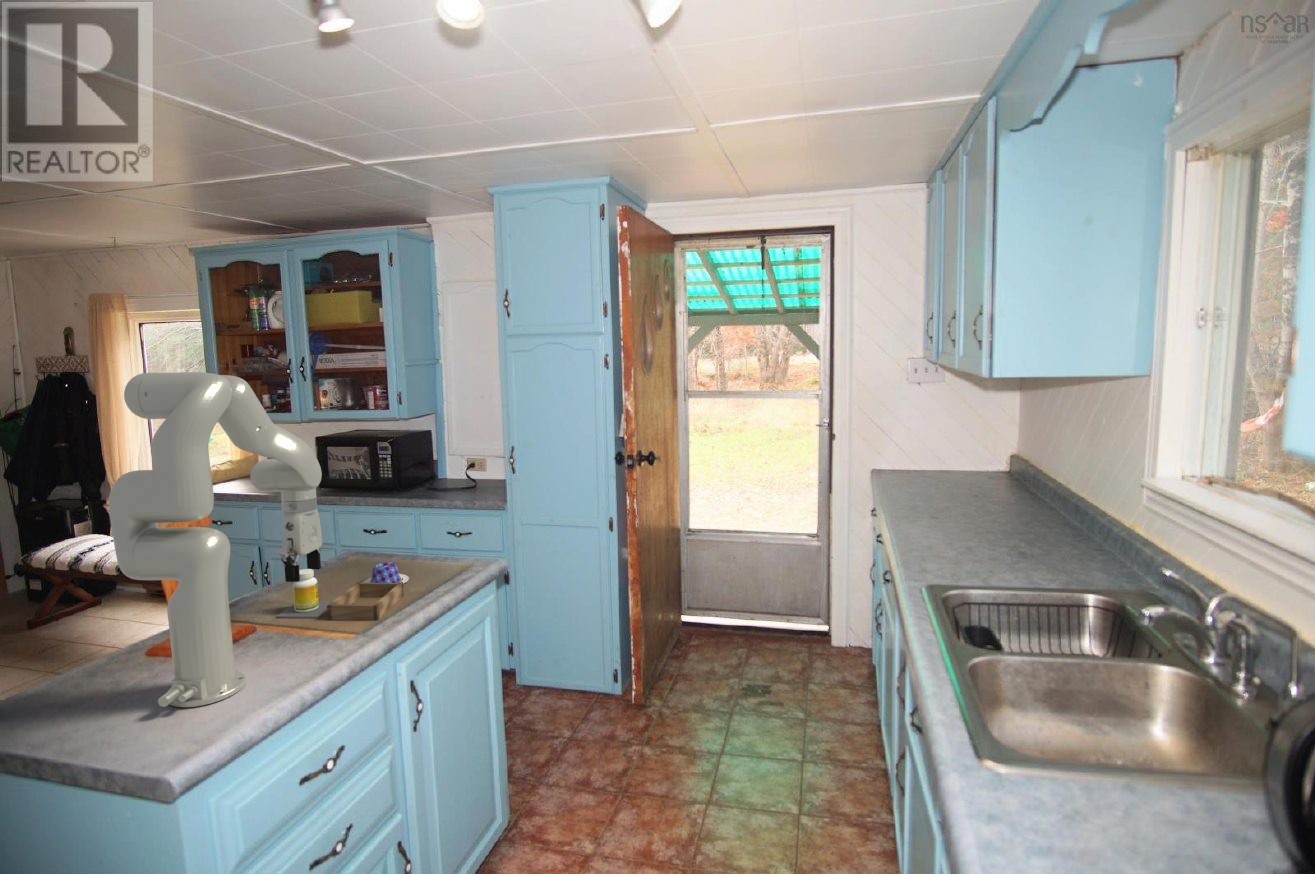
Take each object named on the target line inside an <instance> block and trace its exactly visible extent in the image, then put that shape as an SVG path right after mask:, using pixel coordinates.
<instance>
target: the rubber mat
mask: <svg viewBox="0 0 1315 874" xmlns="http://www.w3.org/2000/svg"><path fill="white" fill-rule="evenodd" d="M333 601H334V600H319V607H318V608H317V609H316V610H314V611H310V612H305V613H301V612H296V611H295V608H294V603H293V604H292V605H291V606H289V607H288V608H286V609H285V610H283V611H282V612H280V613H279V614H277V615H276V616H275V618H276V619H318V618H320V617H321V616H323V614H325V613H327V605H329V604H330V603H331V602H333Z"/></svg>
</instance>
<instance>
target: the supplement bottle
mask: <svg viewBox="0 0 1315 874" xmlns="http://www.w3.org/2000/svg"><path fill="white" fill-rule="evenodd" d="M299 572H300V581H298V582H292V591H293V592H292V593H293V604H294V608H295V611H296V612H301V613H305V612H310V611H314V610H316V609H317V608H318V607H319V601H320V600H319V587H318V580H317V578H316V577H314V575H315V572H314V569H307V568H303V569H299Z"/></svg>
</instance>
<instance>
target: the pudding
mask: <svg viewBox="0 0 1315 874" xmlns="http://www.w3.org/2000/svg"><path fill="white" fill-rule="evenodd" d="M402 578H403V580H402ZM409 580H410V577H409V575H406V574H403V573H400V571H399V568H398V566H397V564H396V563H395V562H390V561H389V562H380V563H379V564H375V565H374V567H373V568H372V573H371V577H368V578H367V579H364V580H363V581H362V583H399V582H400V583H401V582H403V584H405V583H407V582H408V581H409Z"/></svg>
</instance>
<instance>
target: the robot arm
mask: <svg viewBox="0 0 1315 874" xmlns="http://www.w3.org/2000/svg"><path fill="white" fill-rule="evenodd" d="M123 399H124V402H125V405H126V406H127V408H128V409H129V411H130V412H131V413H132V414H133V415H135V416H137V417H138V418H142V419H145V420H161V419H163V422H162V423H161V425H160V426H158V428H157V430H156V431H155V433H154V435H153V437H152V439H151V443H150V444H151V445H150V455H151V465H152V467H151V468H152V469H143V470H142V469H140V470H139V469H138V470H131V471H129V472H128V471H127V472H126V473H124V474H121V475H120V476H119V477H118V478H117V479H116V480H115V481H114V483H113V485H112V487H111V488H110V493H109V496H108V497H109V498H108V512H109V519H110V525H111V531H112V538H113V545H114V549H115V557H116V561H117V564H118V567H119V569H120V571H121V573H122V574H123V575H124V576H126V577H127V578H129V579H132V580H136V581H175V582H176V581H177V583H178V584H177V587H175V590H174V591H173V593H172V594H171V596H170V598H169V599H168V602H167V608H166V609H167V620H168V628H169V637H170V638H169V640H170V649H171V656H172V657H171V658H172V659H171V660H172V669H173V678H174V679H172V680H171V687H170V688H169V689H168V690H167V691H166V693H165V694H163V695H161V696H160V697H159V698H158V699H157V703H158V705H159V707H162V708H166V707H168V706H169V705H170V706H173V707H176V708H194V707H195V708H196V707H200V706H206V705H209V704H214V703H217V702H219V701H222V700H225V699H228V698H230V697H231V696H234V695H235V694H236V693H238V692H239V691H240V690H242V689H243V688H244V686H245V684H246V676H245V674H244V673H243V672H241V671H239V670H236V668H235V656H234V655H235V654H234V646H233V645H234V643H233V634H232V632H233V631H232V623H231V611H230V601H229V599H230V598H229V585H228V584H229V583H228V580H229V578H228V577H229V566H230V559H231V543H230V540H229V538H228V536H227V535H226V534H225V533H224V532H222V531H220V530H218V529H216V528H212V527H205V526H179V527H177V526H176V527H159V524H160V523H162V524H163V523H189V522H190V523H191V522H197V521H201V520H203V519H206V518H207V517H208V516H209V515H210V514H211V513H212V511H213V510H214V506H215V505H214V504H215V496H214V485H213V479H212V477H213V476H212V469H211V462H210V450H209V449H210V448H209V444H210V438H211V435H212V432H213V430H214V428H215V426H216V424H217V423H218V424H219V425H220V427H221V428H222V430H223V431H224V432H225V433H226V436H227V437H228V439H230V441H231V443H232V444H233V445H234V446H235V447H237V449H239V450H241V451H244V452H248V453H249V454H250V453H251V454H253V455H257V456H261V457H264V458H265V457H266V459H263V460H260V461H258V462H256V464H254V465H253V467H252V469H251V471H250V476H249V477H250V481H251V483H252V486H253V487H255V488H256V489H257V490H259V491H263V492H266V493H267V492H271V493H272V492H274V493H275V492H277V493H279V492H280V497H281V498H280V499H281V501H280V502H281V513H282V529H281V531H282V532H281V533H282V534H281V536H282V546H281V548H280V550H279V552H278V553H279V556H280V559H281V562H282V566H283V567H284V577H285V582H286V583H293V582H298V581H300V572H299V570H300V564H298V563H299V559H300V556H301V557H302V556H306V569H313V570H321V569H322V566H321V565H322V563H321V551H322V548H321V547H322V545H323V532H322V525H321V519H320V515H319V510H318V502H317V501H318V500H317V488H318V486H319V485H320V484H321V481H322V475H323V474H322V473H323V472H322V468H321V465H320V463H319V460H318V458H317V457H316V455H315V453H314V451H313V449H312V448H311V446H310V445H308V444H307V442H306V441H304V440H303V439H302V438H300V437H298V435H295V434H294V433H292V432H290V431H288V430H286V429H285V428H283V427H281V426H278V425H276V424H275V423H273V421H272V420H271V418H270V416H269V415H268V413H267V411H266V410H265V408H264V406H263V405H262V403H261V401H260V399H258V397H257V395H256V393H255V391H254V390H253V388H252V387H251V386H250V384H249V383H248V382H247V381H246V380H245V379H243V378H241V377H239V376H235V375H228V374H225V375H224V374H221V375H220V374H217V373H212V372H211V373H210V372H201V371H200V372H199V371H197V372H194V371H191V372H190V371H188V372H187V371H183V372H181V371H179V372H142V373H139V374H136V375H135V376H133V377H132V378H131V379H130V380H129V381H128V382H127V383H126V385H125V388H124V393H123ZM292 557H294V558H292Z"/></svg>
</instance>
